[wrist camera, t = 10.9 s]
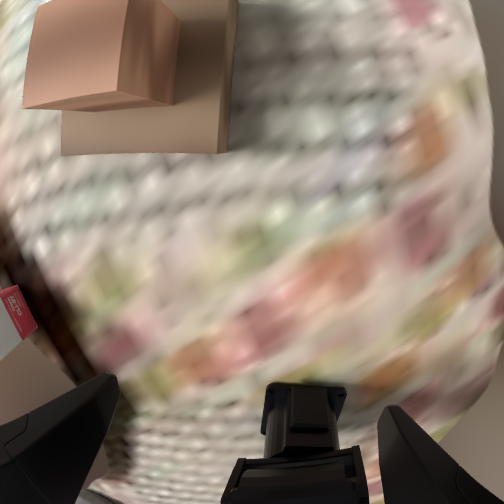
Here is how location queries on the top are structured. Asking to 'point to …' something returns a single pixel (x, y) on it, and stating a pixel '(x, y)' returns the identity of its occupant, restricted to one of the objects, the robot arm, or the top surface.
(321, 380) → the top surface
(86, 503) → the coffee pot
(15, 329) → the ink box
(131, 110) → the tan square slab
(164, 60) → the terracotta cube
